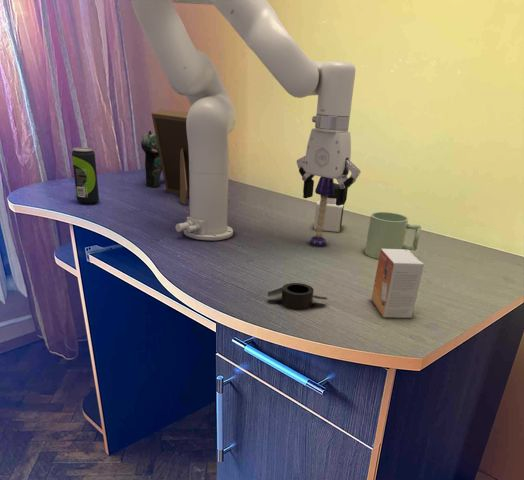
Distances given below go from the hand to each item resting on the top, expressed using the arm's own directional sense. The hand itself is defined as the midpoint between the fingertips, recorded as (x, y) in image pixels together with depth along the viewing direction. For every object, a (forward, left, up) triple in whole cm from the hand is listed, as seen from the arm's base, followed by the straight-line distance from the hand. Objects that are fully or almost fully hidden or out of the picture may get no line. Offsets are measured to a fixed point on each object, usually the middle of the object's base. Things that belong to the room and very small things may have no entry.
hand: (323, 200), depth 125 cm
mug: (+7, -16, -11) cm, 21 cm away
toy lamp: (0, 0, -11) cm, 11 cm away
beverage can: (-20, +69, -11) cm, 73 cm away
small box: (-23, -32, -11) cm, 41 cm away
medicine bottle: (+15, +7, -11) cm, 20 cm away
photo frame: (+7, +56, -11) cm, 58 cm away
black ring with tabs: (-34, -18, -11) cm, 40 cm away
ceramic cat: (+17, +77, -11) cm, 80 cm away
